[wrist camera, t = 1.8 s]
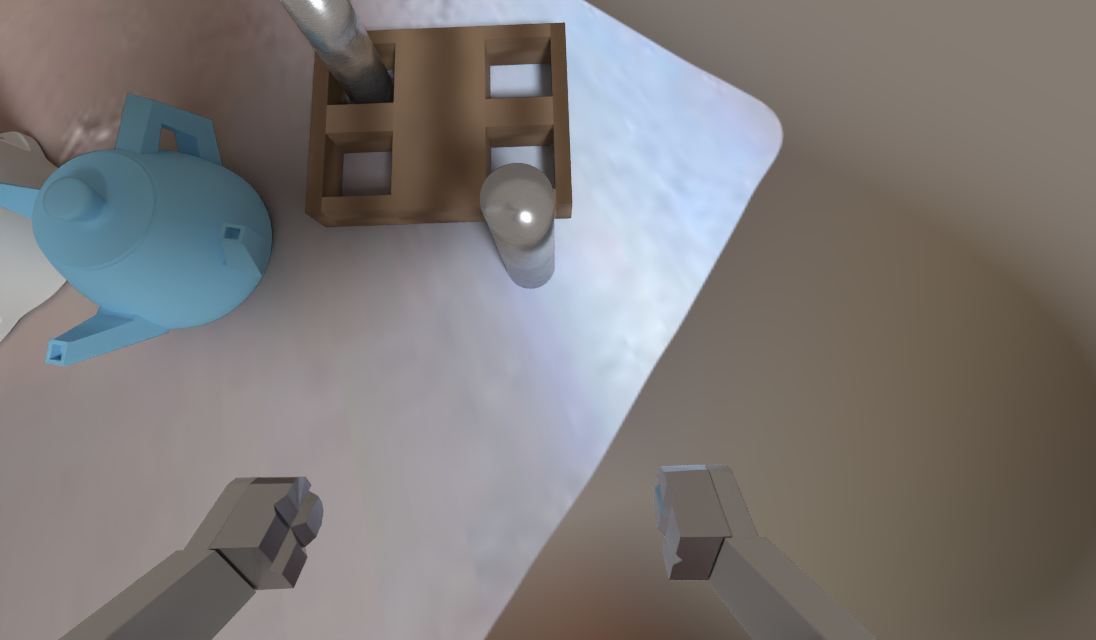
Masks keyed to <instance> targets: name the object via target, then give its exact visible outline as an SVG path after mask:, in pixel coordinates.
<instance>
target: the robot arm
mask: <svg viewBox="0 0 1096 640" xmlns="http://www.w3.org/2000/svg"><path fill="white" fill-rule="evenodd" d="M57 169H58V167H56V166H55V165H53V164H52V163H51V162H49V161H48V160H47V159H46V157H45V155H44V153H43V152H42V150H41V148H40V146H39V145H38V143H37V142H36V141H35V140H34V139H33V138H32V137H30V136H27V135H24V134H22V133H19V132H16V131H10V132H5V133H1V134H0V182H3V183H8V184H14V185H20V186H25V187H31V188H37V189H41V188H42V186H43V185H44V183H45V182H46V180H47V179H48V178H49V177H50V175H51V174H52V173H53V172H55V171H56V170H57ZM66 281H67V280H66V279H65V278H64V277H63V276H62V275H61V274H60V273H59V272H58V271H57V270H56V269H55V268H54V267H53V265H52V264H51V263H50V262H49V261H48V259H47V258H46V257H45V255H44V254H43V252H42V251H41V249H40V248H39V246H38V244H37V242H36V240H35V237H34V233H33V227H32V219H30V218H28V217H26V216H24V215H21V214H19V213H16V212H14V211H11V210H9V209H6V208H3V207H1V206H0V342H1V341H2V340H3V339H4V338H5V337H6V335H7V334H8V333H9V332H10V331H11V329H12V328H13V327H14V326H15V324H16V323H17V322H18V320H19V319H20V318H21V317H22V316H24V315H25V314H26V313H28V312H29V311H31V310H32V309H34V308H35V307H37V306H38V305H40V304H42V303H43V302H44V301H46V300H47V299H48V298H50V297H51V296H52V295H53V294H54V293H55V292H56V291H58V290H59V289H60V287H61V286H62V285H63V284H64V283H65V282H66ZM657 477H658V481H659V485H658V486H657V487H655V492H654V509H655V517H656V522H657V526H658V530H659V531H660V532H661V533H662V534H663V535H664V536H665V538H664V543H663V547H662V550H663V555H664V559H665V564H666V568H667V573H668V577H669V580H709V581H708V583H709V584H710V586H711V587H712V588H713V589H714V591H715V592H716V593H717V594H718V596H719V597H720V598H721V599H722V601H723V602H724V603H725V605H726V606H727V607H728V609H729V610H730V611H731V612H732V614H733V615H734V616H735V617H736V619H737V620H738V621H739V623H740V624H741V625H742V626H743V628H744V629H745V630H746V632H747V633H748V634H749V635H750V637H751V638H752V639H753V640H877V639H876V638H875V637H874V636H873V635H872V634H871V633H870V632H869V631H868V630H867V629H866V628H864V627H863V626H862V625H861V624H860V623H859V622H858V621H857V620H856V619H855V618H853V617H852V616H851V615H850V614H849V613H848V612H847V611H846V610H845V609H844V608H843V607H841V606H840V605H839V604H838V603H837V602H836V601H835V600H834V599H833V598H832V597H831V596H829V594H828V593H826V592H825V591H824V590H823V589H822V588H821V587H820V586H819V585H818V584H817V583H816V582H815V581H813V580H812V579H811V578H810V577H809V576H807V574H806V573H805V572H804V571H803V570H801V569H800V568H799V567H798V566H797V565H796V564H795V563H794V562H793V561H792V560H790V558H788V557H787V556H786V555H785V554H784V553H783V552H782V551H781V550H780V549H779V548H778V547H776V546H775V545H774V544H773V543H772V542H771V541H770V540H769V539H768V538H767V537H759V535H758V533H757V531H756V528H755V526H754V523H753V521H752V518H751V516H750V514H749V511H748V508H747V506H746V504H745V501H744V499H743V496H742V494H741V491H740V489H739V486H738V484H737V482H736V479H735V477H734V474H733V472H732V470H731V468H730V467H729V466H728V465H724V464H723V465H684V466H663V467H660V468H659V469H658V474H657ZM310 487H311V484H310V482H309V481H308V480H307V478H306V477H250V478H236V479H234V480H233V481H232V482H230V483H229V484H228V485H227V486H226V488H225V489H224V491H223V492H222V494H221V495H220V497H219V498H218V500H217V501H216V503H215V504H214V506H213V507H212V509H211V510H210V512H209V513H208V515H207V516H206V517H205V519H204V520H203V522H202V523H201V525H200V526H199V528H198V529H197V531H196V532H195V534H194V535H193V537H192V538H191V540H190V541H189V543H188V544H187V546H186V547H185V549H184V550H179V551H175V552H174V553H173V554H172V555H170V556H169V557H168V558H166V559H165V560H164V561H162V562H161V563H160V564H158V565H157V566H156V567H154V568H153V569H152V570H150V571H149V572H148V573H146V574H145V575H144V576H142V577H141V578H140V579H138V580H137V581H136V582H134V583H133V584H132V585H130V586H129V587H128V588H126V589H125V590H124V591H122V592H121V593H120V594H118V595H117V596H116V597H114V598H113V599H112V600H110V601H109V602H108V603H107V604H105V605H104V606H103V607H101V608H100V609H99V610H97V611H96V612H95V613H93V614H92V615H91V616H89V617H88V618H87V619H85V620H84V621H83V622H81V623H80V624H79V625H77V626H76V627H75V628H73V629H72V630H71V631H69V632H68V633H67V634H65V635H64V636H63V637H61V638H60V639H59V640H212V639H213V638H214V636H215V635H216V634H217V633H218V632H219V631H220V630H221V629H222V628H223V627H224V626H225V625H226V624H227V623H228V622H229V621H230V619H231V618H232V617H233V616H234V615H235V614H236V613H237V612H238V611H239V610H240V609H241V608H242V607H243V606H244V605H245V604H246V603H247V601H248V600H249V599H250V598H251V597H252V596H253V595H254V594H255V593H256V591H255V590H266V589H286V588H294V586H295V584H296V582H297V580H298V577H299V575H300V573H301V571H302V568H303V566H304V564H305V562H306V559H307V553H306V549H305V547H306V546H307V545H308V544H309V543H310V542H311V541H312V540H314V539H315V538H316V536H317V534H318V531H319V529H320V527H321V524H322V517H323V506H322V502H321V500H320V498H319V497H318V496H317V495H315V494H314V493H312V492H310V491H309V489H310Z"/></svg>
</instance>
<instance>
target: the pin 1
mask: <svg viewBox="0 0 1096 640" xmlns="http://www.w3.org/2000/svg"><path fill="white" fill-rule="evenodd" d="M280 2H281V3H282V5H283V6H284V7H285V9H286V10H287V12H288V13H289V14H290V16H291V17H292V19H293V20H294V21H295V23H296V24H297V26H298V27H299V28H300V30H301V31H302V33H303V34H304V35H305V37H306V38H307V40H308V41H309V42H310V44H311V45H312V47H313V48H314V49H315V51H316V52H317V54H318V55H319V56H320V58H321V59H322V61H323V62H324V63H325V65H326V66H327V68H328V69H329V70H330V72H331V73H332V75H333V76H334V77H335V79H336V80H337V82H338V83H339V84H340V86H341V87H342V89H343V90H344V91H345V93H346V94H347V96H348V97H349V98H350V100H351V101H352V103H353V104H371V103H394V82H393V80H392V79H391V77H390V75H389V73H388V71H387V69H386V67H385V65H384V64H383V62H382V60H381V58H380V56H379V54H378V52H377V50H376V49H375V47H374V45H373V43H372V41H371V39H370V37H369V35H368V34H367V32H366V30H365V28H364V26H363V24H362V22H361V20H360V19H359V17H358V15H357V13H356V11H355V9H354V7H353V5H352V4H351V2H350V0H280Z"/></svg>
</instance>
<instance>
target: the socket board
mask: <svg viewBox="0 0 1096 640" xmlns="http://www.w3.org/2000/svg"><path fill="white" fill-rule="evenodd" d="M366 32H367V34H368V35H369V37H370V39H371V41H372V43H373V45H374V47H375V49H376V50H377V52H378V54H379V56H380V58H381V60H382V62H383V64H384V65H385V67H386V69H387V70H395V75H394V103H371V104H346V93H345V91H344V90H343V89H342V87H341V86H340V84H339V83H338V82H337V80H336V79H335V77H334V76H333V75H332V73H331V72H330V70H329V69H328V68H327V66H326V65H325V63H324V62H323V61H322V59H321V58H320V56H319V55H318V54H317V52H316V51H315V64H314V80H313V97H312V113H311V129H310V145H309V162H308V178H307V194H306V211H305V213H306V214H308V215H309V216H311V217H312V218H314V219H315V220H316V221H318V222H319V223H321V224H322V225H324V226H325V227H335V226H363V225H391V224H420V223H448V222H476V221H486V219H485V217H484V215H483V212H482V209H481V206H480V192H481V188H482V185H483V183H484V181H485V180H486V178H487V177H488V176H489V175H490V174H491V148H492V147H518V146H545V145H554V168H555V189H553V193H554V219H561V218H571V212H572V186H571V161H570V136H569V111H568V86H567V61H566V36H565V23H545V24H521V25H497V26H473V27H450V28H426V29H402V30H379V31H366ZM543 63H551V79H552V96H548V97H522V98H497V99H490V66H494V65H519V64H543ZM387 151H392V179H391V195H370V196H343V197H341V195H342V174H343V153H360V152H387Z"/></svg>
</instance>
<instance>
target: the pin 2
mask: <svg viewBox="0 0 1096 640" xmlns="http://www.w3.org/2000/svg"><path fill="white" fill-rule="evenodd" d="M480 206H481V209H482V212H483V215H484V217H485V219H486V222H487V224H488V226H489V229H490V231H491V234H492V236H493V238H494V241H495V243H496V245H497V248H498V250H499V252H500V255H501V257H502V260H503V262H504V264H505V267H506V269H507V271H508V274H509V276H510V278H511V279H512V280H513V281H514V282H515V283H516V284H517V285H519V286H521V287H524V288H529V289H532V288H538V287H541V286H542V285H544V284H546V283H547V282H548V281H549V280H550V278H551V277H552V275H553V273H554V268H555V245H554V193H553V188H552V185H551V183H550V181H549V179H548V178H547V177H546V175H545V174H544V173H543V172H541V171H540V170H539V169H537V168H535V167H533V166H531V165H528V164H523V163H511V164H507V165H504V166H501V167H499V168H497V169H496V170H494V171H493V172H492V173H491V174H490V175H489V176H488V177H487V178H486V180H485V181H484V183H483V185H482V188H481V192H480Z"/></svg>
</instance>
